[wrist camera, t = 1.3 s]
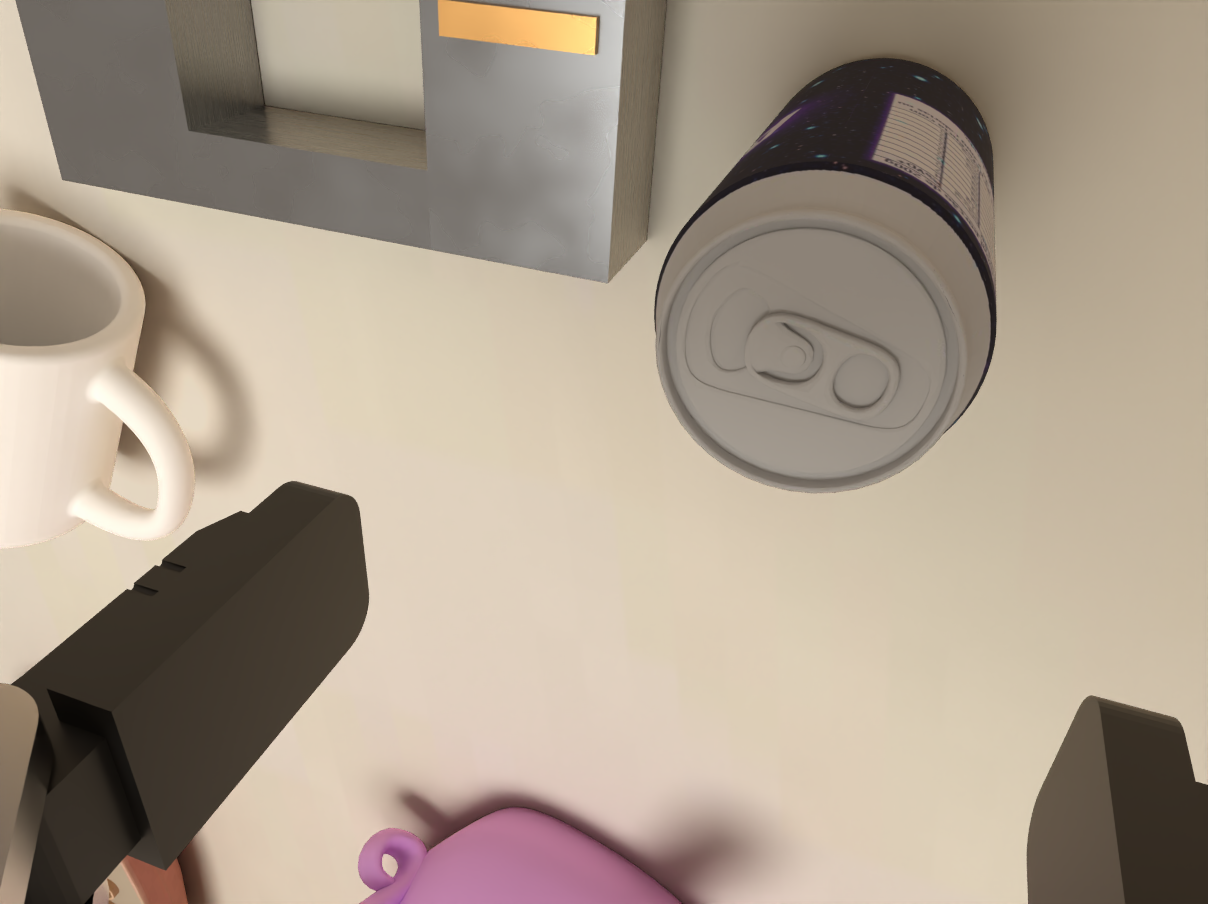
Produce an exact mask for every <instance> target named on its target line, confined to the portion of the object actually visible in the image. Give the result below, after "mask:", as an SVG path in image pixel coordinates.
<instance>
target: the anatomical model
mask: <svg viewBox="0 0 1208 904" xmlns="http://www.w3.org/2000/svg"><path fill="white" fill-rule="evenodd" d="M107 881H108V886H109V903H108V904H188V902H187V897H186V892H185V887H184V882H183V877H182V873H181V868H180V865H179V863H178V860H177V858H176V859H175V860H174V862H173V863H172V864H171V865H170V866H169V868H168V869H167V870H166V871H165V870H163V869H160V868H158V867H155V866H153V865H150V864H148V863H145V862H143V861H140V860H138V859H135V858H133V857H130V856H128V855H127V856H126V857H125V858H124V859H123V860H122V861H121V862H120V864H119V865H118V866H117V867H116V868H115V869H114V870H113V872H112V873H111V874H110V875H109V876H108V877H107Z"/></svg>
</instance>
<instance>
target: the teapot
mask: <svg viewBox="0 0 1208 904" xmlns="http://www.w3.org/2000/svg"><path fill="white" fill-rule="evenodd" d="M383 854H388V855H391V856H392V857H394V858H395V860H396V861H397V864H398V870H397V873H396V874H395V876H394V877H393V878H392V877H391V876H389V875H388V874H387V873H386V872H385V871H384V870H383V867H382V857H383ZM358 870H359V875H360V877H361V879H362V881H363V883H365V884H366V885H367V886H368V887H369V888H371V889H373V890H375V891H376V892H375V893H374V894H372V895H371V896H369V897H368V898H367V899H365V900H364V901H362V902H361V903H359V904H682V903H681V902H680V901H679V900H678V899H677V898H676V897H675V896H674V895H672V894H671V893H670V892H669V891H668V890H667V889H665V888H664V887H663V886H662V885H660V884H659V883H658V882H657V881H656V880H654V879H653V878H652V877H650V876H649V875H648V874H646V873H645V872H644V871H642V870H641V869H640V868H638V867H637V866H635V865H634V864H632V863H631V862H629V861H628V860H626V859H625V858H623V857H622V856H620V855H619V854H617V853H616V852H614V851H612V850H611V849H609V848H608V847H606V846H604V845H603V844H601V843H600V842H598V841H596V840H594V839H593V838H591V837H589V836H588V835H586V834H584V833H583V832H581V831H579V830H577V829H576V828H574V827H572V826H570V825H568V824H566V823H564V822H562V821H560V820H558V819H556V818H554V817H552V816H549V815H546V814H544V813H541V812H539V811H535V810H531V809H527V808H520V807H510V808H504V809H500V810H498V811H495V812H493V813H490V814H488V815H486V816H484V817H482V818H481V819H479V820H477V821H475V822H473V823H471V824H470V825H468V826H466V827H465V828H463V829H461V830H459V831H458V832H456V833H454V834H453V835H451V836H450V837H448V838H447V839H445V840H444V841H442V842H441V843H439V844H438V845H436V846H435V847H433V848H432V849H430V850H429V851H427V850H426V847H425V845H424V843H423V842H422V841H421V840H420V839H419V838H418V837H417V836H415V835H414V834H412V833H410V832H408V831H405V830H401V829H396V828H388V829H385V830H381V831H379V832H378V833H376V834H375V835H373V836H372V837H371V838H370V839H369V840H368V841H367V842H366V844H365V845H364V847H363V849H362V851H361V853H360V856H359V862H358Z"/></svg>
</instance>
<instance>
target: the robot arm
mask: <svg viewBox="0 0 1208 904" xmlns="http://www.w3.org/2000/svg"><path fill="white" fill-rule="evenodd" d="M368 604H369V589H368V580H367V571H366V563H365V554H364V545H363V536H362V527H361V518H360V511H359V507H358V504H357V502H356V500H355V499H354V498H353V497H352V496H349V495H346V494H342V493H338V492H335V491H331V490H327V489H323V488H320V487H316V486H312V485H308V484H305V483H301V482H297V481H291V482H287V483H285V484H283V485H282V486H280V487H279V488H278V489H276V490H275V491H274V492H273V493H272V494H271V495H270V496H268V497H267V498H266V499H265V500H264V501H263V502H261V503H260V504H259V505H258V506H257V507H256V508H254V509H253V510H252V511H251V512H250V513H246V512H242V511H240V512H237V513H235V514H233V515H231V516H229V517H227V518H224V519H222V520H220V521H218V522H216V523H214V524H211V525H209V526H207V527H205V528H203V529H201V530H198V531H196V532H195V533H194V534H193V535H191V536H190V537H189V538H188V539H187V540H185V541H184V542H183V543H182V544H181V545H179V546H178V547H177V548H176V549H175V550H173V551H172V552H171V553H170V554H169V555H167V556H166V557H165V558H164V559H163V560H162V564H161V566H156V565H155V566H154V567H153V568H152V569H151V570H149V571H148V572H147V573H146V574H144V575H143V576H142V577H141V578H140V579H138V580H137V581H136V582H135V583H134V587H133V589H132V590H128V589H126V590H125V591H124V592H123V593H122V594H120V595H119V596H118V597H117V598H116V599H114V600H113V601H112V602H111V603H110V604H108V605H107V606H106V607H105V608H104V609H102V610H101V611H100V612H99V613H97V614H96V615H95V616H94V617H93V618H91V619H90V620H89V621H88V622H87V623H85V624H84V625H83V626H82V627H81V628H79V629H78V630H77V631H76V632H75V633H73V634H72V635H71V636H70V637H69V638H67V639H66V640H65V641H64V642H63V643H61V644H60V645H59V646H58V647H57V648H55V649H54V650H53V651H52V652H50V653H49V654H48V655H47V656H46V657H44V658H43V659H42V660H41V661H40V662H38V663H37V664H36V665H35V666H34V667H32V668H31V669H30V670H29V671H28V672H26V673H25V674H24V675H23V676H21V677H20V678H19V679H17V680H16V681H15V682H13V683H12V684H11V685H10V684H4V683H0V904H108V903H109V886H108V881H107V877H108V876H109V875H110V874H111V873H112V872H113V870H114V869H115V868H116V867H117V866H118V865H119V864H120V862H121V861H122V860H123V859H124V858H125V857H126V856H127V855H128V856H130V857H133V858H135V859H138V860H140V861H143V862H145V863H148V864H150V865H153V866H155V867H158V868H160V869H163V870H165V871H166V870H167V869H168V868H169V866H170V865H171V864H172V863H173V862H174V860H175V859H176V858H177V857H178V856H179V854H180V853H181V852H182V851H183V849H184V848H185V847H186V846H187V845H188V843H189V842H190V841H191V840H192V839H193V837H194V836H195V835H196V834H197V833H198V831H199V830H200V829H201V828H202V827H203V825H204V824H205V823H206V822H207V820H208V819H209V818H210V817H211V816H212V814H213V813H214V812H215V811H216V810H217V808H218V807H219V806H220V805H221V804H222V802H223V801H224V800H225V799H226V797H227V796H228V795H229V794H230V793H231V791H232V790H233V789H234V788H235V787H236V785H237V784H238V783H239V782H240V781H241V779H242V778H243V777H244V776H245V774H246V773H247V772H248V771H249V770H250V768H251V767H252V766H253V765H254V764H255V762H256V761H257V760H258V759H259V758H260V756H261V755H262V754H263V753H264V751H265V750H266V749H267V748H268V747H269V745H270V744H271V743H272V742H273V741H274V739H275V738H276V737H277V736H278V735H279V733H280V732H281V731H282V730H283V728H284V727H285V726H286V725H287V724H288V722H289V721H290V720H291V719H292V718H293V716H294V715H295V714H296V713H297V712H298V710H299V709H300V708H301V707H302V705H303V704H304V703H305V702H306V701H307V699H308V698H309V697H310V696H311V695H312V693H313V692H314V691H315V690H316V689H317V687H318V686H319V685H320V684H321V683H322V681H323V680H324V679H325V678H326V676H327V675H328V674H329V673H330V672H331V670H332V669H333V668H334V667H335V666H336V664H337V663H338V662H339V661H340V660H341V658H342V657H343V656H344V655H345V653H346V652H347V651H348V650H349V649H350V647H351V646H352V645H353V643H354V642H355V640H356V639H357V637H358V635H359V633H360V631H361V629H362V627H363V624H364V621H365V618H366V614H367V610H368ZM1027 882H1028V904H1208V785H1206V784H1202V783H1199V782H1195V777H1194V773H1193V768H1192V764H1191V760H1190V755H1189V751H1188V746H1187V742H1186V737H1185V733H1184V730H1183V727H1182V725H1181V723H1180V722H1179V721H1178V719H1176V718H1174V717H1171V716H1167V715H1163V714H1160V713H1156V712H1152V711H1148V710H1145V709H1141V708H1137V707H1133V706H1130V705H1126V704H1122V703H1118V702H1115V701H1111V700H1107V699H1103V698H1100V697H1096V696H1088V697H1087V698H1086V699H1085V700H1084V701H1083V702H1082V704H1081V705H1080V707H1079V709H1078V711H1077V713H1076V715H1075V717H1074V720H1073V722H1072V724H1071V726H1070V728H1069V730H1068V732H1067V734H1066V737H1065V739H1064V741H1063V743H1062V745H1061V747H1060V749H1059V751H1058V754H1057V756H1056V758H1055V760H1054V762H1053V764H1052V766H1051V768H1050V771H1049V773H1048V775H1047V777H1046V779H1045V781H1044V783H1043V785H1042V788H1041V790H1040V792H1039V794H1038V797H1037V799H1036V802H1035V805H1034V809H1033V813H1032V817H1031V822H1030V827H1029V834H1028V843H1027Z"/></svg>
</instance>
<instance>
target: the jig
mask: <svg viewBox="0 0 1208 904" xmlns="http://www.w3.org/2000/svg"><path fill="white" fill-rule="evenodd" d="M419 2H420V23H421V44H422V66H423V87H424V108H425V130H426V131H424V130H417V129H411V128H404V127H398V126H392V125H385V124H379V123H372V122H366V121H359V120H353V119H346V118H340V117H333V116H327V115H320V114H314V113H308V112H301V111H295V110H288V109H282V108H275V107H269V106H264V100H263V92H262V85H261V78H260V70H259V63H258V56H257V48H256V41H255V34H254V27H253V19H252V12H251V5H250V0H16V4H17V8H18V12H19V16H20V20H21V23H22V27H23V31H24V35H25V39H26V43H27V46H28V50H29V54H30V58H31V62H32V66H33V69H34V73H35V77H36V81H37V85H38V88H39V92H40V96H41V100H42V104H43V108H44V111H45V115H46V119H47V123H48V127H49V131H50V134H51V138H52V142H53V146H54V150H55V154H56V157H57V161H58V165H59V169H60V173H61V177H62V180H65V181H71V182H76V183H81V184H86V185H92V186H97V187H102V188H108V189H113V190H118V191H123V192H129V193H134V194H139V195H145V196H150V197H155V198H160V199H166V200H171V201H176V202H181V203H187V204H192V205H197V206H203V207H208V208H213V209H218V210H224V211H229V212H234V213H240V214H245V215H250V216H255V217H261V218H266V219H271V220H276V221H282V222H287V223H292V224H298V225H303V226H308V227H313V228H319V229H324V230H329V231H335V232H340V233H345V234H350V235H356V236H361V237H366V238H371V239H377V240H382V241H387V242H393V243H398V244H403V245H408V246H414V247H419V248H424V249H429V250H435V251H440V252H445V253H451V254H456V255H461V256H466V257H472V258H477V259H482V260H488V261H493V262H498V263H503V264H509V265H514V266H519V267H524V268H530V269H535V270H540V271H546V272H551V273H556V274H561V275H567V276H572V277H577V278H583V279H588V280H593V281H598V282H604V283H609V282H610V280H611V279H612V278H613V277H614V276H615V275H616V274H617V273H618V272H619V271H620V269H621V268H622V267H623V266H624V265H625V264H626V263H627V262H628V261H629V260H630V259H631V257H632V256H633V255H634V254H635V253H636V252H637V251H638V250H639V249H640V248H641V246H642V245H643V244H644V243H645V242H646V241H647V229H648V217H649V205H650V193H651V181H652V169H653V157H654V145H655V134H656V122H657V110H658V98H659V86H660V74H661V62H662V50H663V38H664V26H665V14H666V3H667V0H419Z"/></svg>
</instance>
